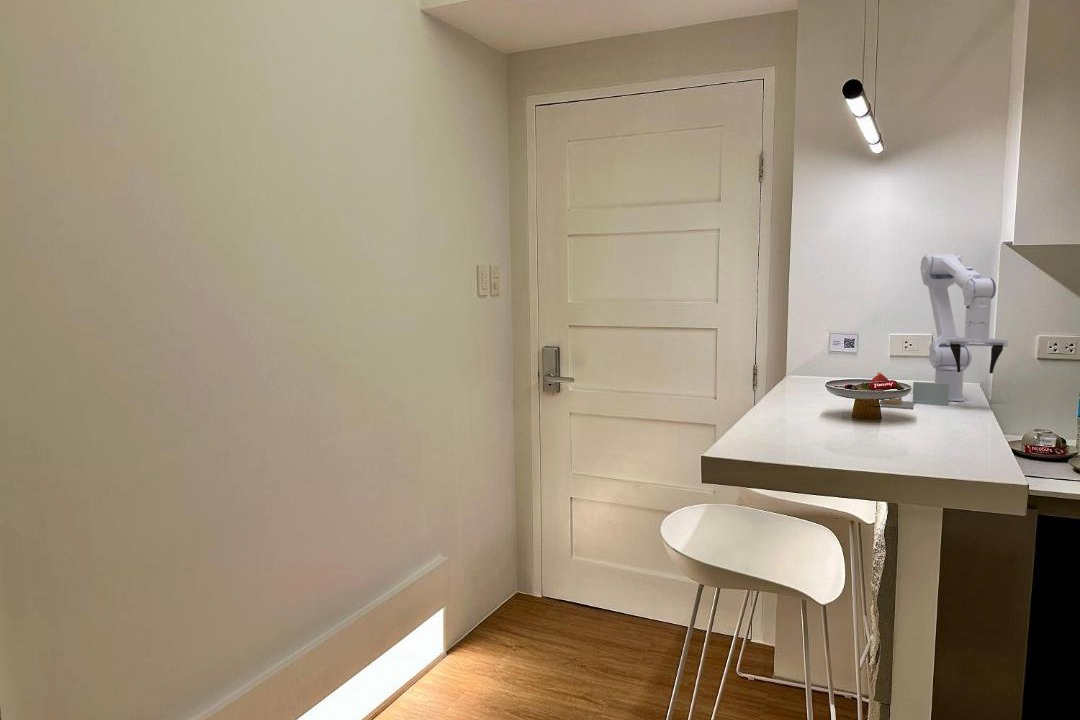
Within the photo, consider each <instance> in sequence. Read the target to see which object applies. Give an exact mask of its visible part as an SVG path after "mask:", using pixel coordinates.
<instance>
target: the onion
mask: <svg viewBox="0 0 1080 720" xmlns="http://www.w3.org/2000/svg"><path fill="white" fill-rule="evenodd" d="M874 381H889V379H888V378H887V377H886V376H885V375H884V374H883V373H882V372H880V371H878V372H877V375H876V376H874V377H873V378H872V379H871V380H870V382H874ZM870 382H869V383H870ZM889 382H890V381H889Z"/></svg>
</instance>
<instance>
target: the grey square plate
mask: <svg viewBox="0 0 1080 720" xmlns="http://www.w3.org/2000/svg"><path fill="white" fill-rule="evenodd" d="M880 400H881V401H880V405H881V407H880V408H889V409H890V408H891V409H904V410H914V407H913V406H915V403H914V402H912V401H908V400H902V402H901V405H889V404H883V399H880Z"/></svg>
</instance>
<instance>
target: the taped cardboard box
mask: <svg viewBox="0 0 1080 720" xmlns="http://www.w3.org/2000/svg"><path fill="white" fill-rule="evenodd" d="M902 398H903V397H902ZM902 398H899V399H889V400H883V399H882V400H883V404H889V405H901V402H902V401H903V400H902Z"/></svg>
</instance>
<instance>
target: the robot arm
mask: <svg viewBox="0 0 1080 720" xmlns="http://www.w3.org/2000/svg"><path fill="white" fill-rule="evenodd" d="M920 262H921V263H920V267H919V268H920V274H921V280H922V282H923V285H925V286H926V287H927V288H928V292H929V298H930V303H931V309H932V313H933V314H932V315H933V319H934V320H933V321H934V324H935V331H936V336H937V338H936V339H934V340H933V341H931V342H930V344H929V347H928V348H929V354H928V359H929V364H930V365H931V366H932V368H933V369H935V374H934V375H935V377H934V383H949V396H948V402H950V401H951V402H964V401H965V399H964V395H963V388H964V371H966V370H967V368H969V366H970V365H971V362H972V359H973V358H972V351H971V350H970V347H972V346H974V347H991V350H990V364H989V372H988V373H989V374H990V375H991V374H993V373H994V368H995V366H996V363H997V361H998V359H999V357H1000V355H1001V354H1002V351H1003V349H1004V348H1008V347H1009V345H1008V344H1009V339H1005V338H1002V339H1001V338H990V337H989V336H990V325H991V323H990V322H991V302H992V300H993V299H994V297H995V296H996V294H997V284H996V281H995V279H994V278H993V277H987V278H985V277H984V276H982V275H981V274H980V273H979V272H977V270H975V268H974V267H973V266H966V267H965V265H964V264H963V260H962V256H961V255H960V254H959V253H953V254H949V253H947V254H944V253H943V254H939V253H938V254H930V253H927V254H924V256H923V257H922V258H921V261H920ZM955 284H956V286H958V287H959V288H960V289H962V295H963V299H964V300H963V303H964V306H966V307H965V319H964V320H965V322H964V324H965V325H964V337H961V336H959V335H958V334H957V331H956V325H955V320H954V315H953V309H952V306H951V305H952V304H951V299H950V295H949V290H948V287H951V286H952V285H955Z"/></svg>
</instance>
